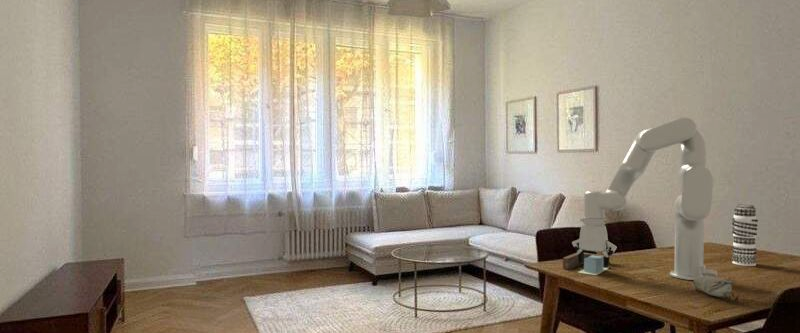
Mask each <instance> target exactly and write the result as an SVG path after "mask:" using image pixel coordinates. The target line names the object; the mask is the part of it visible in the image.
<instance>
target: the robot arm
mask: <svg viewBox="0 0 800 333" xmlns="http://www.w3.org/2000/svg"><path fill="white" fill-rule="evenodd" d="M676 144H677V146H678V148H679V165H678V166H679V167H678V175H677V180H678V183H679V185H680V186H681V187H682V191H681V192H682V193H681V194H680V195H678V196H677V198H676V199H675V201H674V204H673V215H674V216H673V217H674V264H673V266H674V269H673V270H670V271H669V276H670V277H673V278H676V279H681V280H686V281H687V280H688V281H694V280H695V278H696V277H697V276H699V275H705V276H711V277H717V276H718V271H717V270H714V269H708V268H706V265H705V264H704V247H705V246H704V244H705V243H704V241H705V239H704V238H705V226H704V225H705V224H704V220H705V219H706V218H707V217H708V216H709V215H710V212H711V209H712V204H713V203H712V201H713V188H714V179H713V178H714V177H713V175H712V172H711V171H710V169H709V168H707V167H706V161H707V158H706V157H707V155H706V154H707V152H706V151H707V147H706V142H705V140H704V137H703V136H702V134H701V133H700V131H699V130H698V129H697V125H696V122H695V121H694V120H693V119H691V118H690V117H687V116H685V117H684V116H681V117H676V118H673V119H671V120H670V121H668V122H664V123H662V124H659V125H656V126H653V127H651V128H647V129H644V130H640V132H639V133H638V134H637V135H636V136H635V138H634V140H633V141H632V143H631V146H630V147H629V149H628V151H627V153H626V155H625V157H624V159H623V160H622V162H621V164H620V166H619V167H618V170H617V171H616V173H615V175H614V177H613V178H612V180H611V181H610V183H609V186H608V188H606V191H600V190H586V191H585V192H584V194H583V196H584V197H583V202H584V203H583V217H581V218H580V222H583V224H581V227H580V232H579V238H578V239H576V240H573V241H572V242H571V244H572V246H573V250H575V251H576V253H578V261H579V264H580V265H583V264H582V263H584V253H585V252H584V251H587V252H588V251H589V252H596V253H597V252H602V253H603V254H604V255H605V257H604V268H608V267H609V266H610V257H611V256H612V255H613V254H614V253H615V251H616V250H617V245H615V244H613V243H612V242H610V241H609V239H608V238H609V237H608V236H609V235H608V231H607V227H606V225H605V210H609V211H615V212H617V211H618V212H619V211H620V210H623V209H624V208H625V207H626V205H627V198H626V197H627V194H628V193H629V191H630V189H631V188H632V186H633V185H634V183H635V182H636V181H637V180H639V179H640V178H641V176H643V174H644V173H645V171H646V169H647V167H648V165H649V164H650V162H651V160H652V158H653V156H654V155H655V153H656V151H659V150H662V149H665V148H668V147H671V146H673V145H676ZM608 246H610V248H611V249H610V250H609V251H608V250H607V249H608ZM607 266H608V267H607Z"/></svg>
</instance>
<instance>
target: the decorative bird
mask: <svg viewBox="0 0 800 333" xmlns="http://www.w3.org/2000/svg"><path fill="white" fill-rule="evenodd" d="M736 283H737V280H733V279H729V278H720V277H717V276H712V275H708V276H705V275H699V276H697V277H696V278H695V280H693V288H694V290H695V291H696V290H697V291H699V290H702V291H703V292H704V293H706V294H707V295H709V296H712V297H718V298H722V297H725V298H726V300H725V301H724V303H725V302H726V303H727V304H728V303H731V295H732V297H733V298H734V299H733V300H732V302H734V303H736V301H737V302H739V298H738V297H739V295H736V296H735V295H734V293H733V292H732V290H733V287H732V286H733V284H736ZM729 294H731V295H729ZM728 295H729V296H728Z"/></svg>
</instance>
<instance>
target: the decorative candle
mask: <svg viewBox="0 0 800 333" xmlns="http://www.w3.org/2000/svg"><path fill="white" fill-rule="evenodd" d="M733 210H734V212H733V218H732V219H731V221H732V222H731V224H732V225H733V227H731V229H732V236H733V244H732V250H731V251H732V254H731V256H732V257H731V259H732V261H731V263H732V264H734V265H738V266H744V267H755V266H756V265H757V263H756V262H757V256H756V254H757V252H756V251H757V246H756V238H757V237H758V236H757V235H758V233H757V232H756V231H757V230H758V228H757V227H758V224H757V223H758V222H759V220H758V219H757V214H756V213H757V208H756V207H755V206H754V205H752V204H746V203H745V204H743V203H742V204H741V203H740V204H736V205H735V207H733Z"/></svg>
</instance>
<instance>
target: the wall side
mask: <svg viewBox="0 0 800 333" xmlns="http://www.w3.org/2000/svg"><path fill="white" fill-rule="evenodd" d="M583 253H584V259H585V258H587V257H589V256H591V255H594V256H602V257H603V267H604V257H605V255H597V253H589V252H583ZM581 265H584V263H582V264H581ZM604 268H605V267H604ZM606 268H609V265H608V266H607V267H606Z"/></svg>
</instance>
